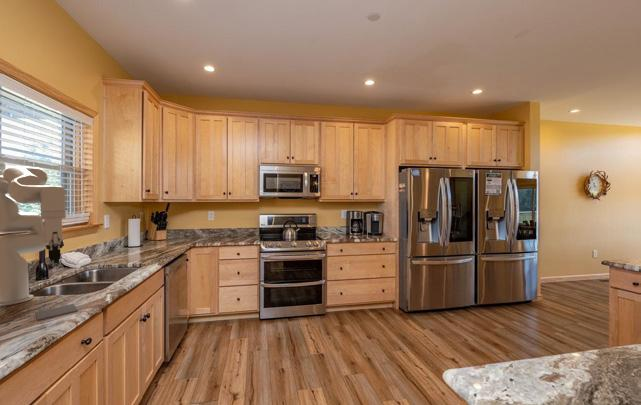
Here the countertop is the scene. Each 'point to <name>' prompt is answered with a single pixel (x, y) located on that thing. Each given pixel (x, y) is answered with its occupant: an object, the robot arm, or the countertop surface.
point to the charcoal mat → (55, 312)
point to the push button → (54, 262)
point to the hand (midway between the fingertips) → (54, 258)
